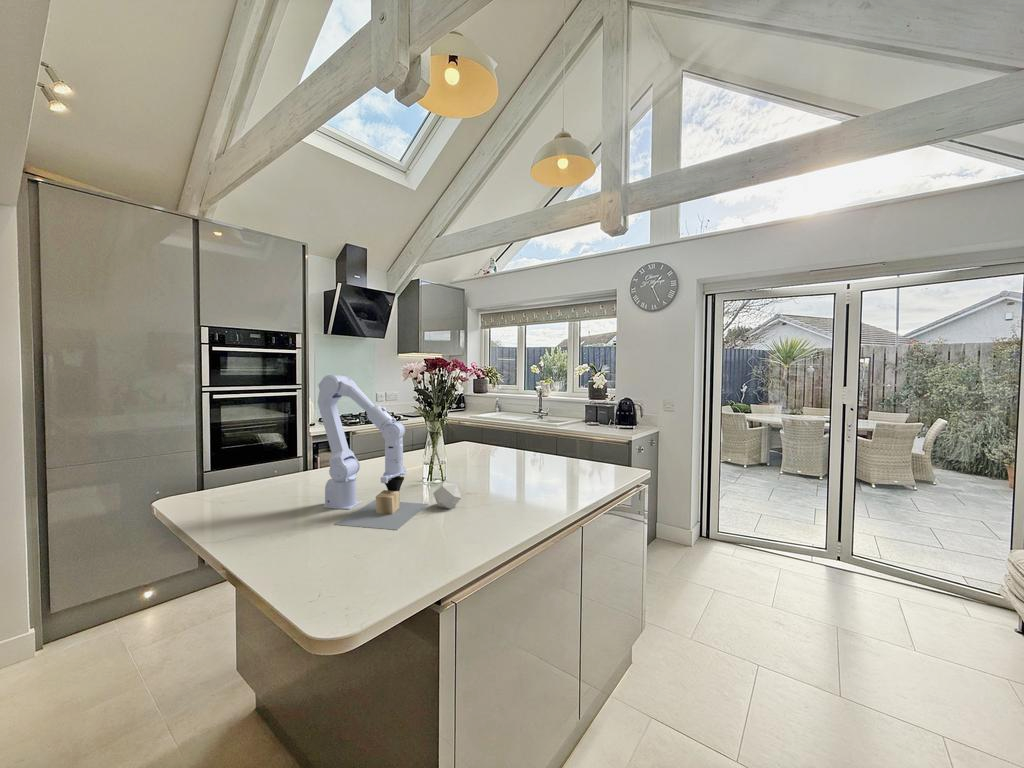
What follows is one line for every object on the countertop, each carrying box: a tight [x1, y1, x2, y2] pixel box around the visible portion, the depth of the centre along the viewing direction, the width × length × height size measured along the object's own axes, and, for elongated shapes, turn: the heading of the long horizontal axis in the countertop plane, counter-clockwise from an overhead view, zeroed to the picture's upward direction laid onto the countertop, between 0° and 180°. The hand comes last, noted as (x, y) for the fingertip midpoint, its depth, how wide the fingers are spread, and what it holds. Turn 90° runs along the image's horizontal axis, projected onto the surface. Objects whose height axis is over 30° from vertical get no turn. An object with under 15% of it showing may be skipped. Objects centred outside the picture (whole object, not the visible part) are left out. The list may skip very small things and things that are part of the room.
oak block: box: [375, 489, 401, 514], centre depth 137 cm, size 6×6×6 cm
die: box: [432, 482, 462, 510], centre depth 142 cm, size 8×9×10 cm
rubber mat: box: [333, 499, 429, 531], centre depth 135 cm, size 20×24×1 cm
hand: (393, 499), depth 141 cm, fingers closed
